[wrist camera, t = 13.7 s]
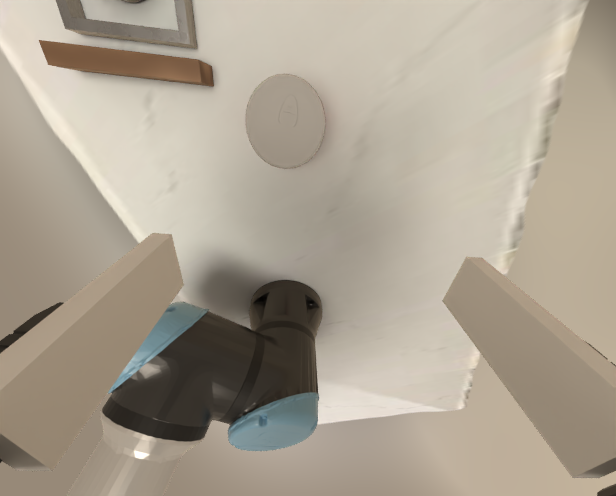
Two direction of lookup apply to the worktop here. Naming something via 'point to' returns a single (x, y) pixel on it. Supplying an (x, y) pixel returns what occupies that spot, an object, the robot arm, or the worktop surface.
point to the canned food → (285, 121)
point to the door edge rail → (127, 63)
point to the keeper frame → (132, 26)
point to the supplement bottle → (132, 0)
